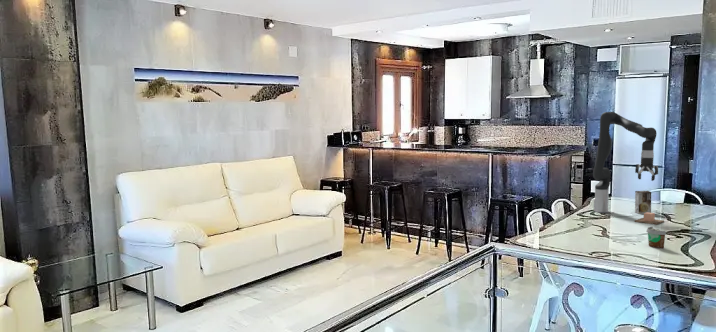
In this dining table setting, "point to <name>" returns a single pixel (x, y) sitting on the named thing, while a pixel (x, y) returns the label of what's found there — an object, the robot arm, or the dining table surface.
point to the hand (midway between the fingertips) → (646, 179)
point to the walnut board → (649, 221)
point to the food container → (656, 237)
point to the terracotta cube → (649, 216)
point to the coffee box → (642, 202)
